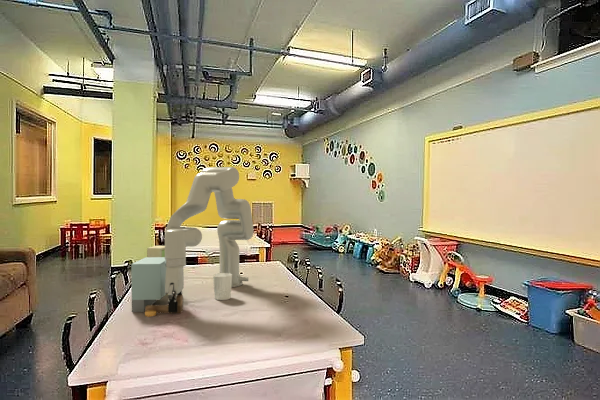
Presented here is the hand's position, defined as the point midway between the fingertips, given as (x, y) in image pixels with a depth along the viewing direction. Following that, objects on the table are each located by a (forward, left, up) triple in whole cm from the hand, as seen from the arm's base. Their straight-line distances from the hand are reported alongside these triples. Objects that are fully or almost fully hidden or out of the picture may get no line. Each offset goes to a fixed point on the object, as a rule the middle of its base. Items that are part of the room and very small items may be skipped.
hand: (175, 309), depth 150 cm
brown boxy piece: (+4, 0, -1) cm, 4 cm away
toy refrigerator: (+14, -28, -1) cm, 31 cm away
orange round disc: (+8, +3, -1) cm, 9 cm away
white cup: (-15, -19, -1) cm, 24 cm away
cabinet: (+11, -9, -1) cm, 14 cm away
